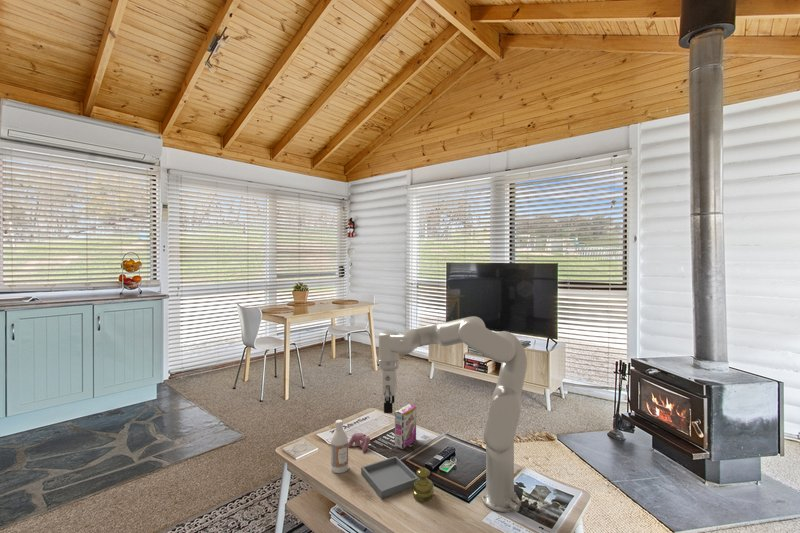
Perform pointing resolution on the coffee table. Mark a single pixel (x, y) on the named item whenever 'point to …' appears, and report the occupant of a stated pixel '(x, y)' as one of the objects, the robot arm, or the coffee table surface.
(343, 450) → the bath foam
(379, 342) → the robot arm
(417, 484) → the salt shaker
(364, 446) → the pink lumpy piece
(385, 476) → the tray
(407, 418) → the candy bar box
